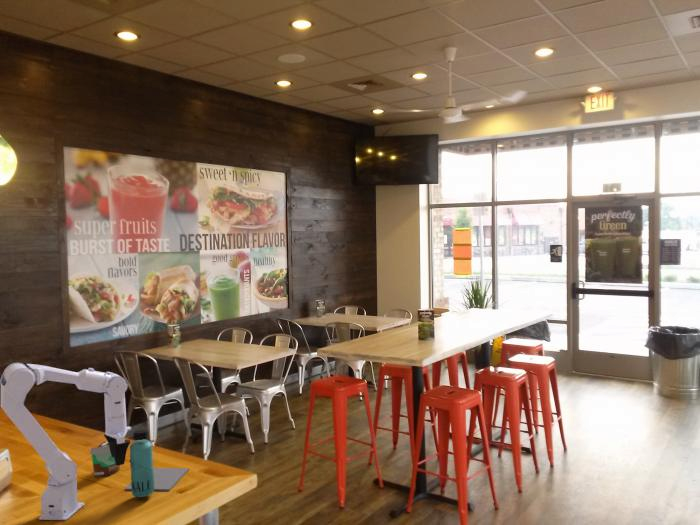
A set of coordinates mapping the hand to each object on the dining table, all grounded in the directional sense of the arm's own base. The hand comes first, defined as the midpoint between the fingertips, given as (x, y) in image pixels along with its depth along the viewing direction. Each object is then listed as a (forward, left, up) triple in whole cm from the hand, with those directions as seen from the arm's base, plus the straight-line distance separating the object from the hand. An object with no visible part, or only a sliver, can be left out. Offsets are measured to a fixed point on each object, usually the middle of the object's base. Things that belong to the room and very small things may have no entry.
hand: (117, 460), depth 175 cm
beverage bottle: (-2, -8, -10) cm, 13 cm away
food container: (+16, +11, -10) cm, 22 cm away
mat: (+11, -7, -10) cm, 16 cm away
